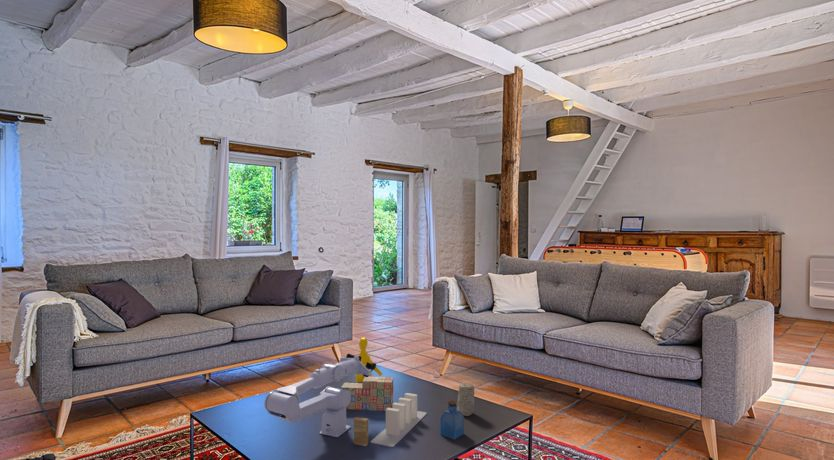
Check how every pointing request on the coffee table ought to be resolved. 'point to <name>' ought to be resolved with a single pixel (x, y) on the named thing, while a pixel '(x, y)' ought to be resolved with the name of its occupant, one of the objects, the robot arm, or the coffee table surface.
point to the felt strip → (392, 439)
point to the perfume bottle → (452, 422)
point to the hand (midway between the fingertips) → (367, 362)
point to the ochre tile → (361, 431)
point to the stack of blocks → (371, 394)
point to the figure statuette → (365, 360)
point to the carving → (466, 399)
